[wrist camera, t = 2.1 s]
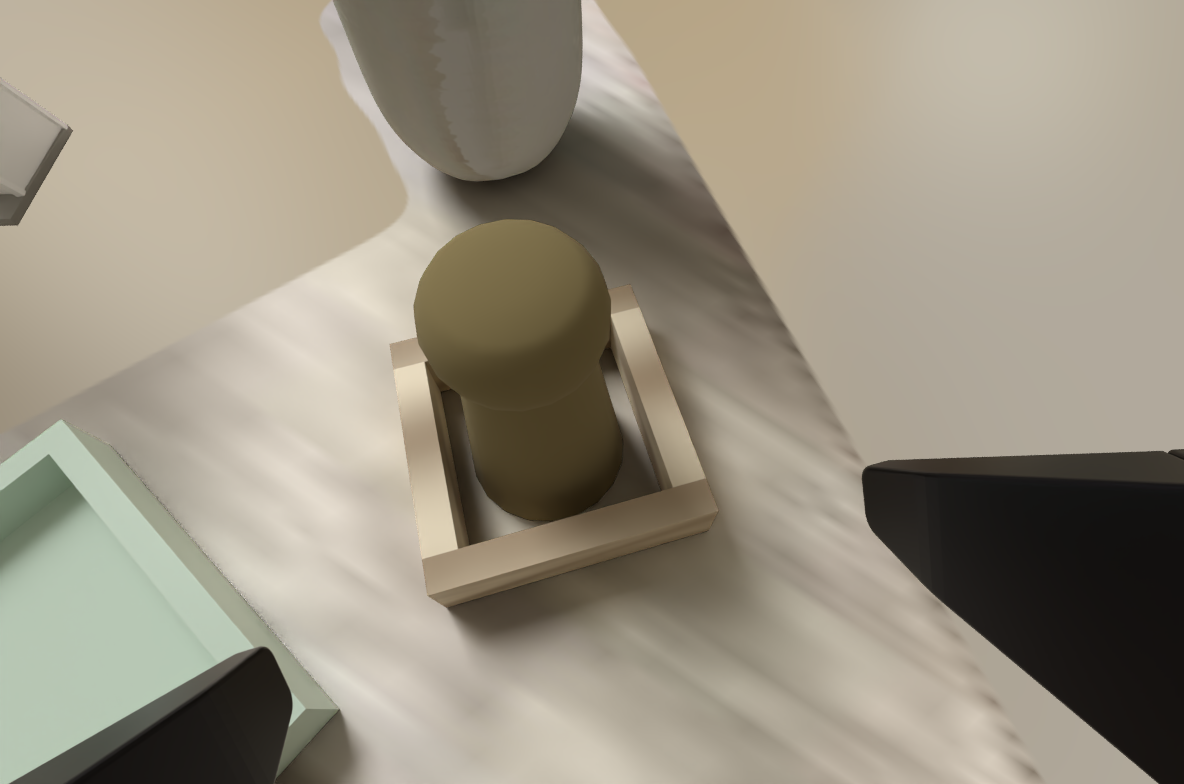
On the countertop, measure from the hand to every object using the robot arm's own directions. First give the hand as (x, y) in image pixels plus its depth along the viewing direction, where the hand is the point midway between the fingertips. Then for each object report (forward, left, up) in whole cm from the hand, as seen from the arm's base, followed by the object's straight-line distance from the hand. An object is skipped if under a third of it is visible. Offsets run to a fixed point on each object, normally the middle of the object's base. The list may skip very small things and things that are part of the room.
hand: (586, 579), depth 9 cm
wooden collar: (+8, -2, -13) cm, 16 cm away
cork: (+8, -2, -14) cm, 16 cm away
